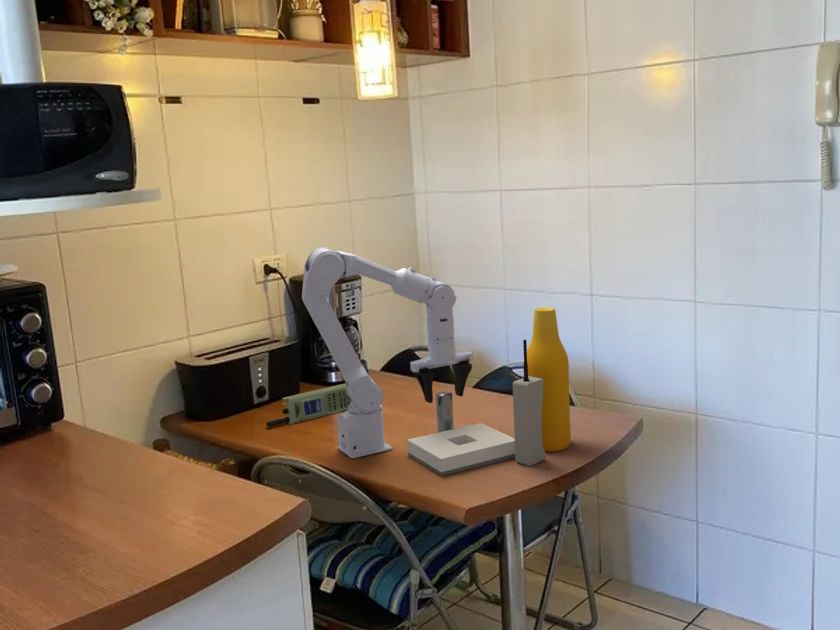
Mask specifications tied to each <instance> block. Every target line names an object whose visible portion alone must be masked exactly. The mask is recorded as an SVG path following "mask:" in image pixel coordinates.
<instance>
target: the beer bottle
mask: <svg viewBox="0 0 840 630" xmlns="http://www.w3.org/2000/svg"><path fill="white" fill-rule="evenodd" d="M533 312H534V313H533V326H532V335H531V340H530V343H529V344H528V346H527V363H528V376H531V377H536V378H541V379H543V404H542V408H541V421H542V447H543V449H544V452H545V453H546V452H547V453H548V452H549V453H550V452H559V451H563V450H565V449H568V447H569V446H570V444H571V421H570V420H571V414H570V412H571V410H570V374H569V373H570V364H569V357H568V352H567V351H566V348H565V346H564V345H563V343H562V341H561V339H560V333H559V328H558V320H557V313H556V308H554V307H552V306H550V307H548V306H546V307H541V306H540V307H536V308H534V311H533Z"/></svg>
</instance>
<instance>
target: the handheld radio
mask: <svg viewBox="0 0 840 630" xmlns="http://www.w3.org/2000/svg"><path fill="white" fill-rule="evenodd" d="M281 399H282V400H285V401H283V402H282V406H284V407H285V408H284V409H283V410H282V414H284V415H286V417H283V418H278V419H273V420H270V421H266V423H265V424H266V427H267V428H271V427H275V426H279V425H282V424H284V423H286V424H289V425H294V424H298V423H302V422H307V421H310V420H314V419H318V418H322V417H323V418H324V417H325V416H330V415H334V414H338V413H339V414H340V413H344V412H346V411H348V406H349V404H350V402H351V401H352V399H351V398H350V397H349V396H348V394H347V392H346V382H345V383H342V384H341V383H340V384H336V385H332V386H328V387H324V388H320V389H319V388H318V389H315V390H311V391H307V392H301V393H299V394H298V393H297V394H294V395H290V396H285V397H283V398H282V397H281Z"/></svg>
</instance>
